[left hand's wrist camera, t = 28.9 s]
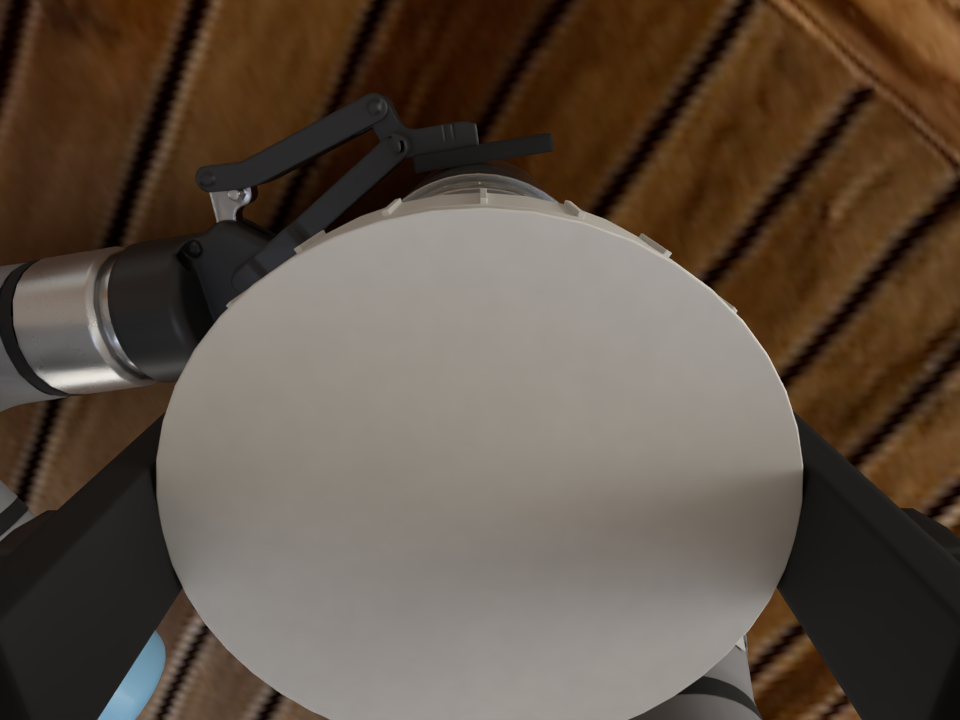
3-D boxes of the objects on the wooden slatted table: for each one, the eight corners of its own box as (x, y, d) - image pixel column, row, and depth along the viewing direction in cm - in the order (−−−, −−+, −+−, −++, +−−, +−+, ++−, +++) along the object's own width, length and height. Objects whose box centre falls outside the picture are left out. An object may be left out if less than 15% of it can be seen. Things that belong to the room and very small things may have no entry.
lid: (844, 513, 13) (910, 584, 11) (436, 731, 15) (429, 820, 13) (550, 43, 9) (568, 20, 7) (88, 421, 12) (11, 479, 10)
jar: (493, 347, 39) (500, 470, 25) (367, 256, 37) (298, 336, 23) (593, 226, 36) (664, 289, 22) (463, 119, 34) (451, 115, 20)
